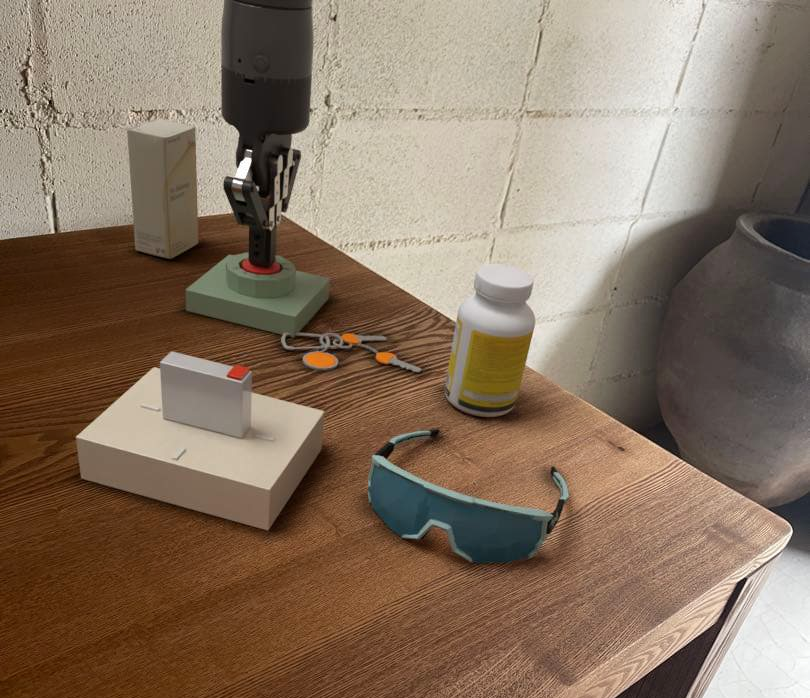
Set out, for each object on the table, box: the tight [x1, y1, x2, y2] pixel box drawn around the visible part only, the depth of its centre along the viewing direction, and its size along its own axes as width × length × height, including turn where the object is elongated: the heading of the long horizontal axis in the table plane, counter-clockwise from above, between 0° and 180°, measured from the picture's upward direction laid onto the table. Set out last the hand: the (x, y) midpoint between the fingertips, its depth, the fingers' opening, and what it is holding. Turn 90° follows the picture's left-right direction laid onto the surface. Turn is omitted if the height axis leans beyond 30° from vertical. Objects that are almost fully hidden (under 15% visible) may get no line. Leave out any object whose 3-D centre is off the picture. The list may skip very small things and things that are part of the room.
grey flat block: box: [159, 351, 253, 438], centre depth 60 cm, size 6×2×5 cm, turn 76°
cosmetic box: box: [126, 118, 199, 260], centre depth 89 cm, size 6×4×12 cm
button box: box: [185, 251, 331, 338], centre depth 84 cm, size 11×10×4 cm
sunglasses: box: [367, 428, 570, 564], centre depth 63 cm, size 14×15×5 cm
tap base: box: [75, 366, 325, 531], centre depth 63 cm, size 14×11×4 cm
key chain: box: [280, 332, 422, 374], centre depth 80 cm, size 13×7×1 cm, turn 97°
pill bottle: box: [444, 263, 536, 418], centre depth 73 cm, size 6×6×12 cm
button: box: [242, 258, 280, 275], centre depth 83 cm, size 4×4×2 cm
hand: (261, 264), depth 83 cm, fingers closed
